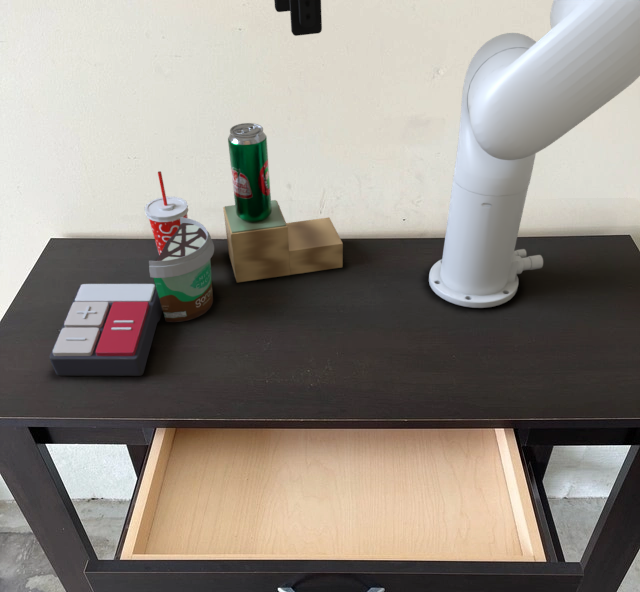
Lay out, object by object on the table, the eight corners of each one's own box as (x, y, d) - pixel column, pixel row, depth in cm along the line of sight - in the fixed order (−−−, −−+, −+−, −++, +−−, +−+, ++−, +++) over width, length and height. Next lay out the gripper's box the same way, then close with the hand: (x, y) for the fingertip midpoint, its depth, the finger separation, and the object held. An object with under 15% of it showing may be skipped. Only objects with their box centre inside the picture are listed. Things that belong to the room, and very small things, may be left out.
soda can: (229, 214, 94) (219, 128, 85) (259, 203, 96) (252, 118, 87) (249, 227, 91) (240, 140, 83) (279, 216, 93) (273, 130, 85)
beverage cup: (150, 270, 99) (129, 180, 89) (165, 249, 103) (147, 160, 93) (188, 274, 98) (172, 184, 88) (202, 253, 102) (188, 164, 92)
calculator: (45, 354, 79) (77, 279, 89) (56, 379, 82) (86, 304, 92) (136, 354, 79) (158, 278, 89) (144, 379, 82) (164, 304, 92)
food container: (205, 333, 88) (194, 268, 80) (161, 328, 89) (146, 263, 81) (232, 282, 96) (224, 218, 89) (192, 277, 97) (181, 215, 90)
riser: (329, 240, 104) (329, 192, 98) (342, 267, 98) (343, 217, 93) (229, 254, 101) (222, 205, 96) (236, 282, 96) (230, 232, 90)
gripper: (349, -187, 56) (350, 40, 68) (306, -195, 67) (313, -1, 80) (261, -181, 55) (278, 48, 67) (233, -191, 66) (252, 5, 79)
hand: (297, 21), depth 73 cm, fingers open, 9 cm apart
